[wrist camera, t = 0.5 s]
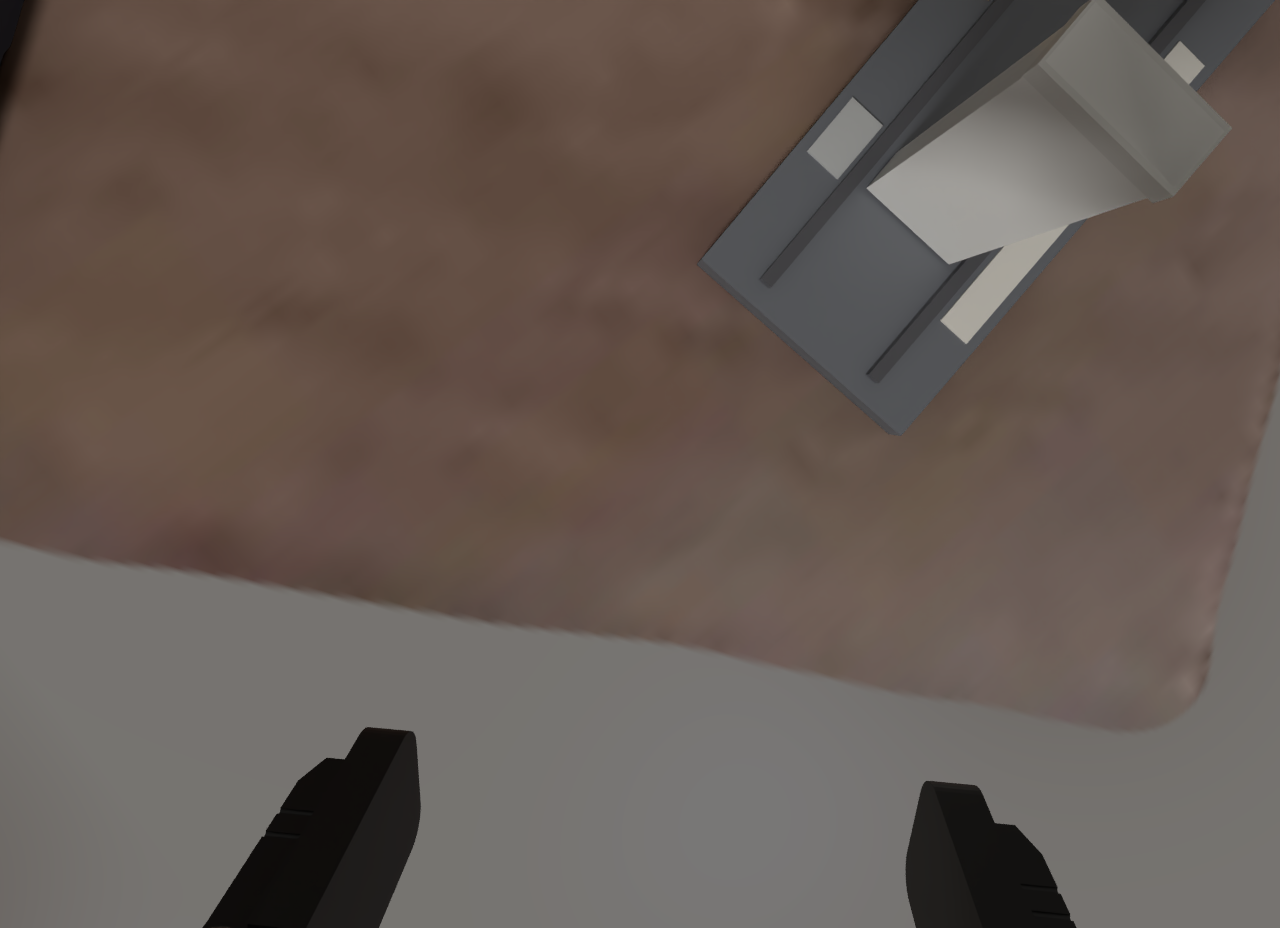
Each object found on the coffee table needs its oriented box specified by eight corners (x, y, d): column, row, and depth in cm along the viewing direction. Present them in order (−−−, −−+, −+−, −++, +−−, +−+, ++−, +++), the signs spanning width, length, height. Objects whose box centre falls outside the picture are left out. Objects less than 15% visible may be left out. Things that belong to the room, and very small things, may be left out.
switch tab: (947, 269, 36) (1173, 196, 22) (861, 190, 35) (1037, 64, 22) (983, 227, 36) (1232, 128, 22) (897, 147, 35) (1097, -7, 21)
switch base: (888, 434, 38) (905, 436, 36) (696, 264, 37) (702, 257, 35) (1258, 2, 37) (1296, -20, 35) (1075, -187, 36) (1103, -221, 34)
